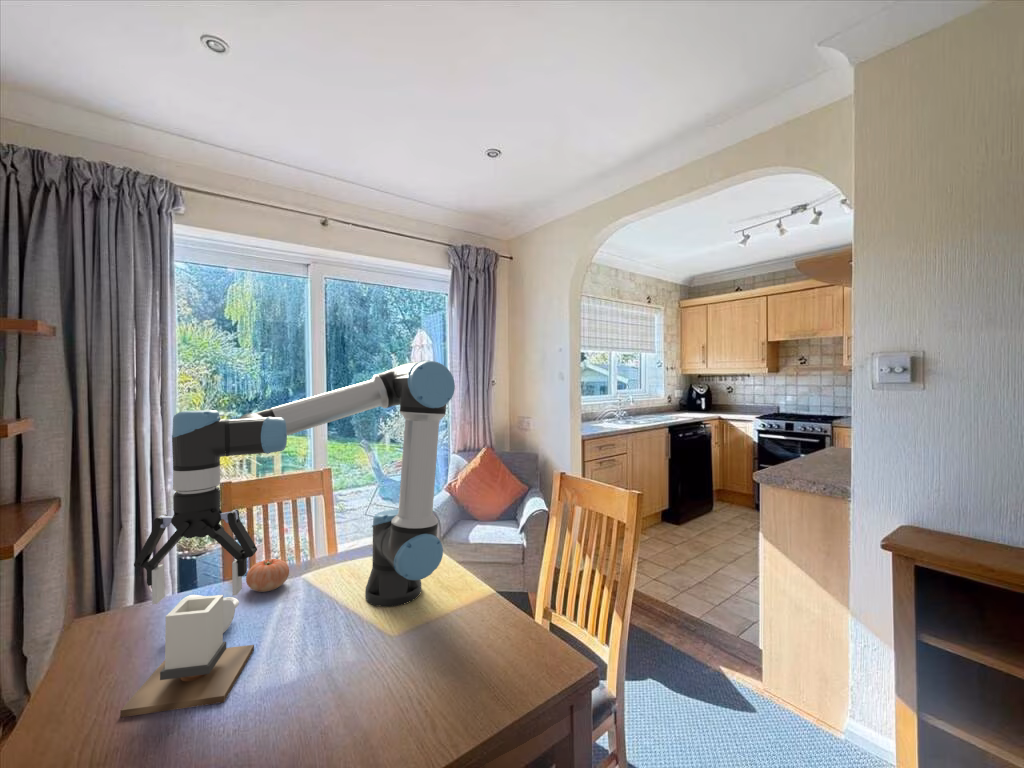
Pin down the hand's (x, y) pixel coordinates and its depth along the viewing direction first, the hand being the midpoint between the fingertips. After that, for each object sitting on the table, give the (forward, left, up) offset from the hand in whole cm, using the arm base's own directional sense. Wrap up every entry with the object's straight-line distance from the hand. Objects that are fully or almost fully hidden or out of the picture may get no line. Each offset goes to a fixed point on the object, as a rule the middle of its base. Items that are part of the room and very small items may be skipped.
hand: (198, 596), depth 85 cm
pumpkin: (-2, -39, -17) cm, 42 cm away
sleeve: (0, 0, -12) cm, 12 cm away
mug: (+5, -20, -17) cm, 26 cm away
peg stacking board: (0, 0, -16) cm, 16 cm away
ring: (0, 0, -13) cm, 13 cm away
